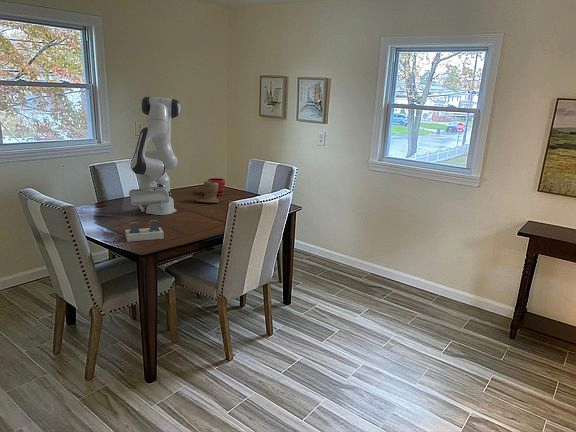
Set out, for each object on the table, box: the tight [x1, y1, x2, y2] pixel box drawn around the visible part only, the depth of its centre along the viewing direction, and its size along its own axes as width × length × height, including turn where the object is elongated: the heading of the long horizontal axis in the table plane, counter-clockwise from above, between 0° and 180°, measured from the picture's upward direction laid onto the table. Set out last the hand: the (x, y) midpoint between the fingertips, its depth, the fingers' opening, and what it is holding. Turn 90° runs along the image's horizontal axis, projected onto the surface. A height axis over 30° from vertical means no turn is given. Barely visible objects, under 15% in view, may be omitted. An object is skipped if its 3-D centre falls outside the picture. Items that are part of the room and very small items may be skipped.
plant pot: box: [207, 177, 226, 197], centre depth 329 cm, size 13×13×12 cm
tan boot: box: [196, 180, 220, 204], centre depth 305 cm, size 15×12×15 cm
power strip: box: [125, 221, 165, 243], centre depth 231 cm, size 19×18×8 cm
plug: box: [149, 219, 160, 232], centre depth 229 cm, size 3×4×9 cm
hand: (152, 210), depth 233 cm, fingers open, 8 cm apart
